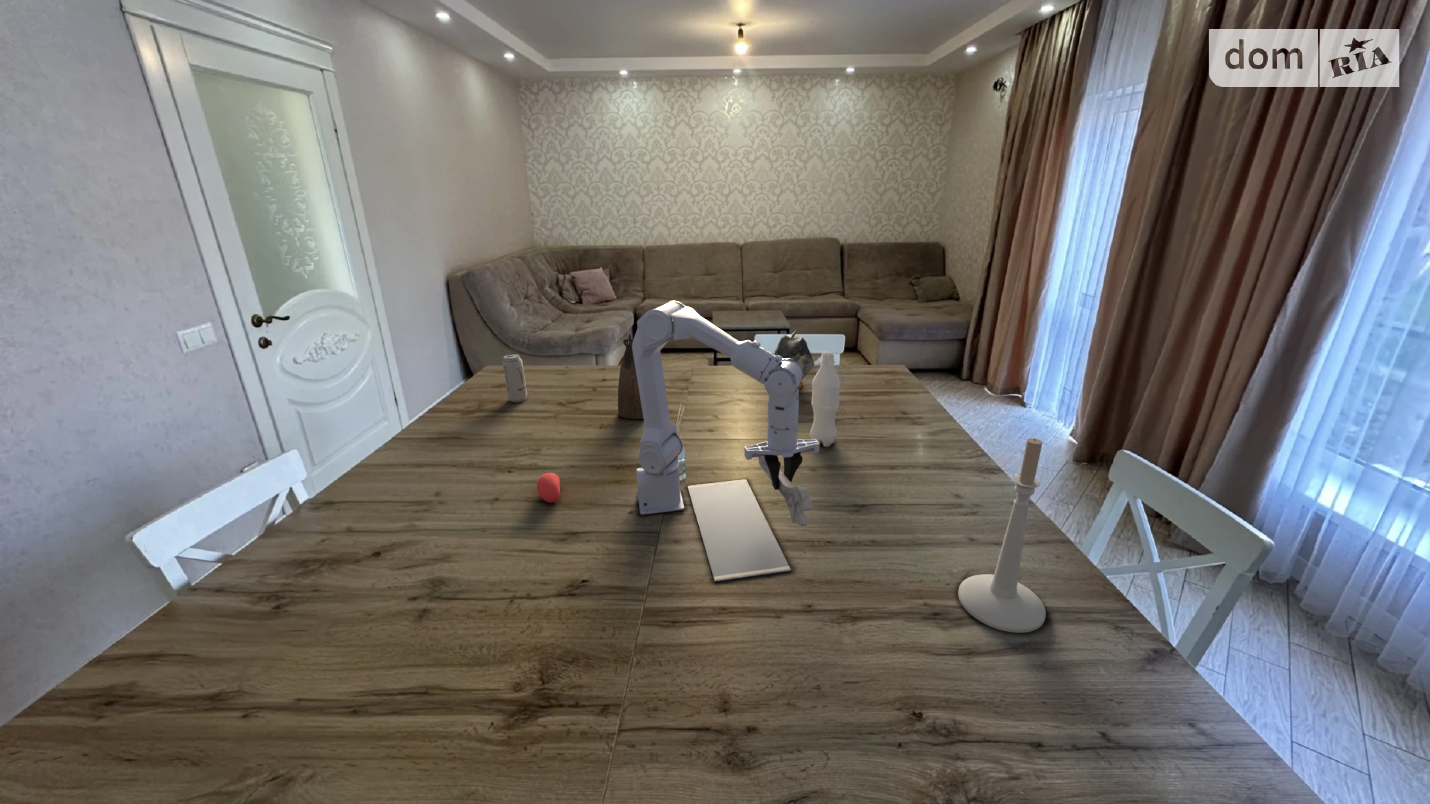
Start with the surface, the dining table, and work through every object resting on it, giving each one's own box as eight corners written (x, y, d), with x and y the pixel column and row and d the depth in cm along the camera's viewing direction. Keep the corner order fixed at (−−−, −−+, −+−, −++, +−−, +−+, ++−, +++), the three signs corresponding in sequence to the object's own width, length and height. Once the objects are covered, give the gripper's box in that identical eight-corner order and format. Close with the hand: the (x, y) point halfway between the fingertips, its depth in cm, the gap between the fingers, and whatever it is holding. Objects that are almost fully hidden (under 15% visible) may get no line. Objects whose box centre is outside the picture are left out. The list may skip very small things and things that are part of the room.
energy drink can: (524, 402, 180) (517, 358, 175) (506, 403, 180) (498, 359, 175) (530, 396, 186) (523, 353, 180) (512, 396, 186) (505, 353, 181)
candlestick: (1042, 644, 82) (1088, 466, 71) (951, 613, 89) (980, 445, 78) (1047, 594, 92) (1087, 431, 81) (965, 568, 99) (992, 414, 88)
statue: (645, 410, 172) (640, 332, 163) (648, 419, 165) (643, 338, 156) (618, 412, 171) (611, 334, 162) (619, 422, 164) (612, 340, 155)
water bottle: (806, 446, 146) (810, 356, 137) (812, 435, 152) (816, 348, 143) (833, 450, 144) (839, 358, 135) (838, 439, 150) (844, 350, 141)
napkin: (714, 582, 97) (714, 581, 97) (687, 486, 128) (687, 485, 128) (791, 571, 99) (791, 570, 99) (745, 479, 130) (745, 479, 130)
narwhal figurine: (770, 390, 186) (771, 339, 180) (773, 376, 200) (774, 328, 194) (813, 392, 184) (815, 340, 178) (813, 377, 198) (815, 328, 192)
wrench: (766, 473, 124) (812, 537, 96) (758, 474, 124) (802, 538, 95) (765, 440, 122) (812, 494, 94) (757, 440, 122) (802, 496, 93)
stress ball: (531, 509, 122) (536, 492, 118) (537, 478, 129) (542, 461, 125) (555, 513, 124) (560, 496, 120) (560, 482, 130) (565, 465, 127)
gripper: (750, 436, 100) (750, 501, 104) (826, 428, 102) (823, 492, 107) (741, 421, 106) (741, 483, 111) (813, 414, 108) (810, 475, 113)
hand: (781, 486), depth 109 cm, fingers closed on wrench, 2 cm apart
